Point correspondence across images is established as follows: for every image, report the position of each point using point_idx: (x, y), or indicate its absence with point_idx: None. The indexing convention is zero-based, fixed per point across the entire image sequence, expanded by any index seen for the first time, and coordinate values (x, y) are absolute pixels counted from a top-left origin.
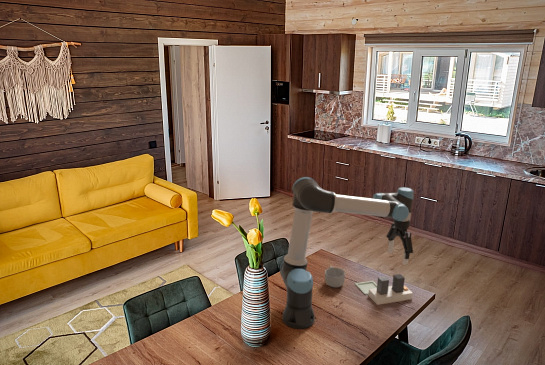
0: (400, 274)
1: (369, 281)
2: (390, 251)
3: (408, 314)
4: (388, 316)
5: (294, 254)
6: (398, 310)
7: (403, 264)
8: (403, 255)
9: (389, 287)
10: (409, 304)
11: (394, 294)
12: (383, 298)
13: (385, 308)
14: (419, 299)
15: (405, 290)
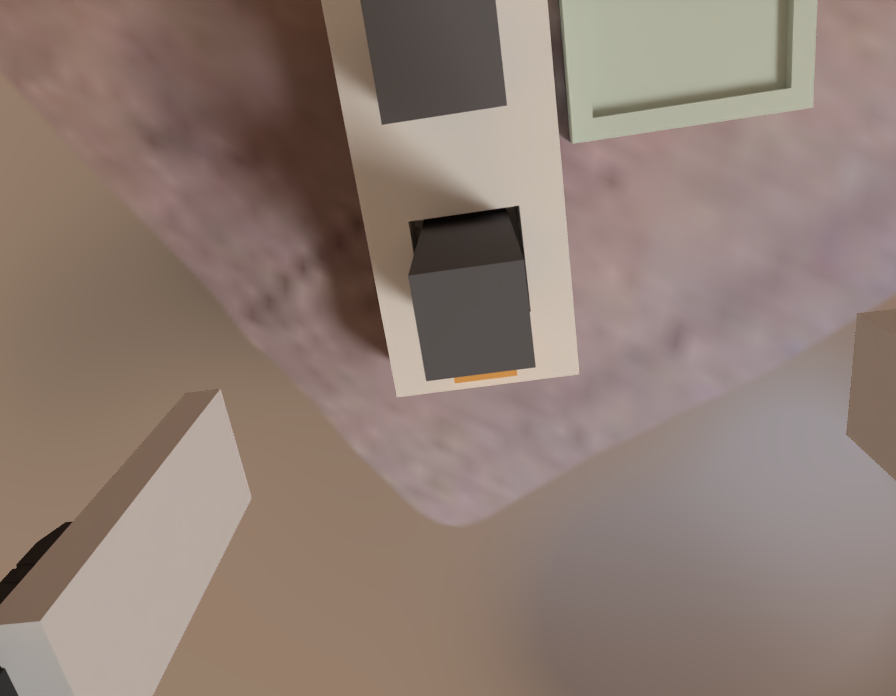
0: (523, 364)
1: (807, 52)
2: (869, 379)
3: (165, 227)
4: (123, 3)
5: None
6: (231, 159)
7: (184, 404)
8: (108, 530)
9: (535, 197)
10: (329, 310)
11: (381, 191)
12: (329, 27)
13: (269, 32)
14: (402, 431)
15: None
